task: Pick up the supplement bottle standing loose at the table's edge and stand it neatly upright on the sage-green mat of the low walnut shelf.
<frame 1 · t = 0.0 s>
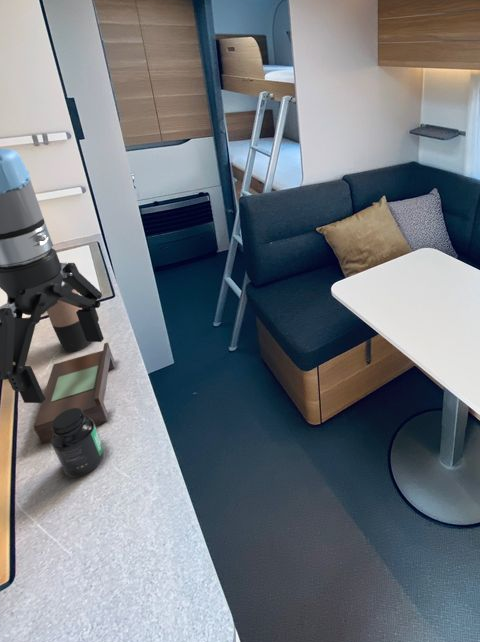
hand: (68, 368, 68), 27 cm above the worktop, tool pointing down, fingers open, 13 cm apart
travel mug: (78, 344, 115), on the worktop
shelf: (82, 399, 97), on the worktop
supplement bottle: (85, 462, 82), on the worktop
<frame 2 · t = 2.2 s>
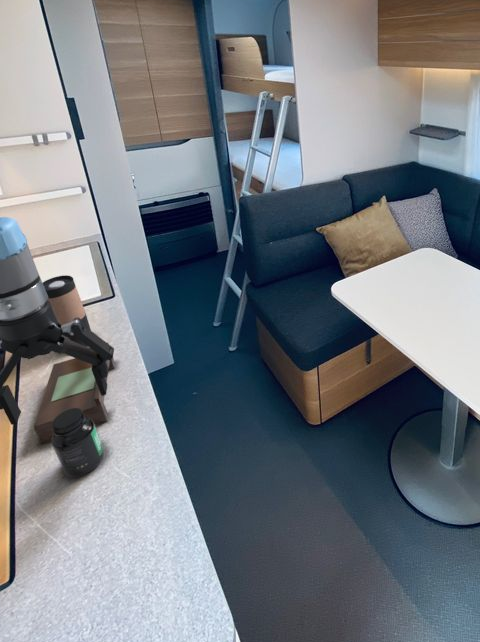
hand: (62, 404, 76), 16 cm above the worktop, tool pointing down, fingers open, 13 cm apart
nothing on the worktop moved.
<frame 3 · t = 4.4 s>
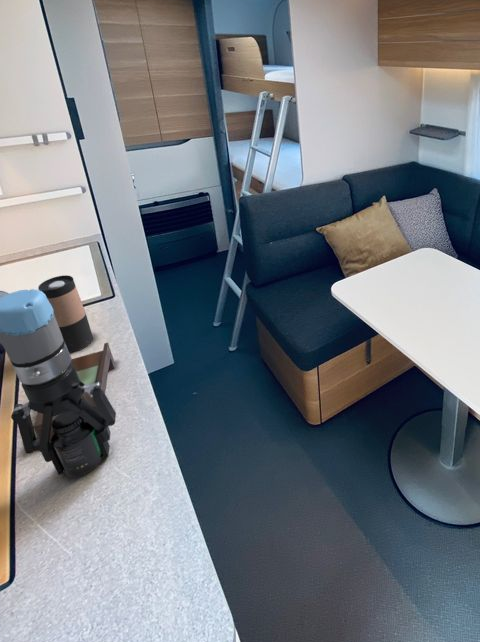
hand: (84, 459, 82), 1 cm above the worktop, tool pointing down, fingers closed on supplement bottle, 7 cm apart
supplement bottle: (85, 462, 82), on the worktop, touching gripper
everything else where it was.
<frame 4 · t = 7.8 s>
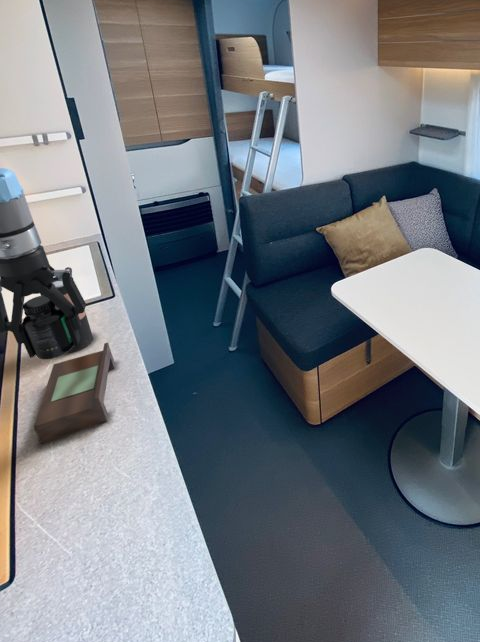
hand: (55, 347, 86), 19 cm above the worktop, tool pointing down, fingers closed on supplement bottle, 7 cm apart
supplement bottle: (57, 349, 86), point 18 cm above the worktop, touching gripper
everything else where it was.
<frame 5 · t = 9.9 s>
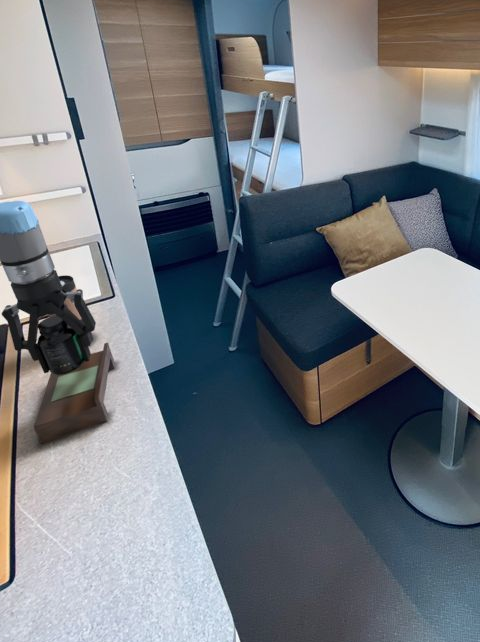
hand: (68, 363, 92), 11 cm above the worktop, tool pointing down, fingers closed on supplement bottle, 7 cm apart
supplement bottle: (69, 365, 93), point 10 cm above the worktop, touching gripper
everything else where it was.
when the fingers open (6 cm above the worktop, at t = 11.6 s): supplement bottle stays where it is, resting on shelf.
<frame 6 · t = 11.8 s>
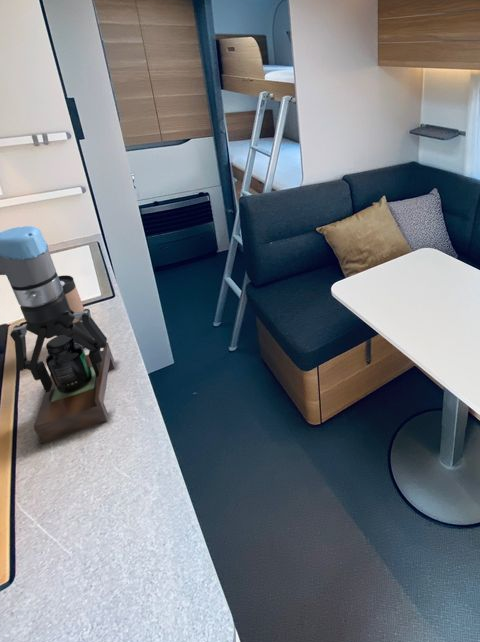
hand: (74, 380, 94), 6 cm above the worktop, tool pointing down, fingers open, 9 cm apart
supplement bottle: (76, 383, 95), point 5 cm above the worktop, touching shelf
everything else where it was.
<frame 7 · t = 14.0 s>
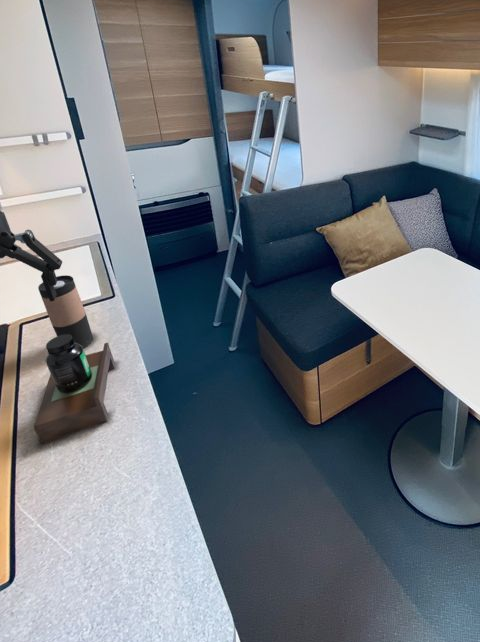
hand: (15, 306, 88), 26 cm above the worktop, tool pointing down, fingers open, 13 cm apart
nothing on the worktop moved.
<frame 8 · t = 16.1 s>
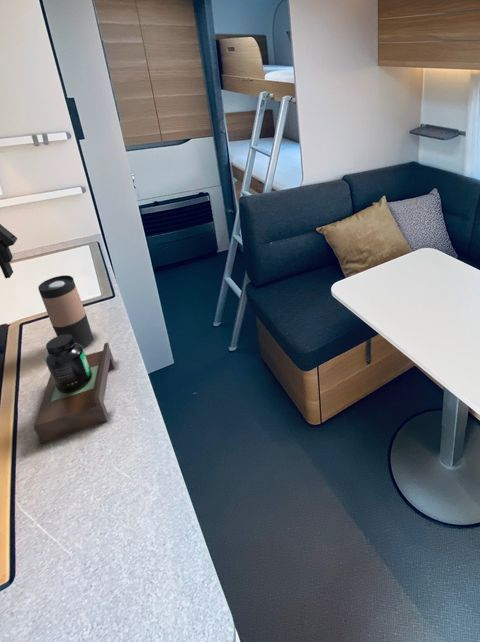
nothing on the worktop moved.
at the end: supplement bottle 0.0 cm off-centre on the shelf, point 5.0 cm above the shelf's base; supplement bottle tilted 0°; the gripper is holding nothing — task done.
